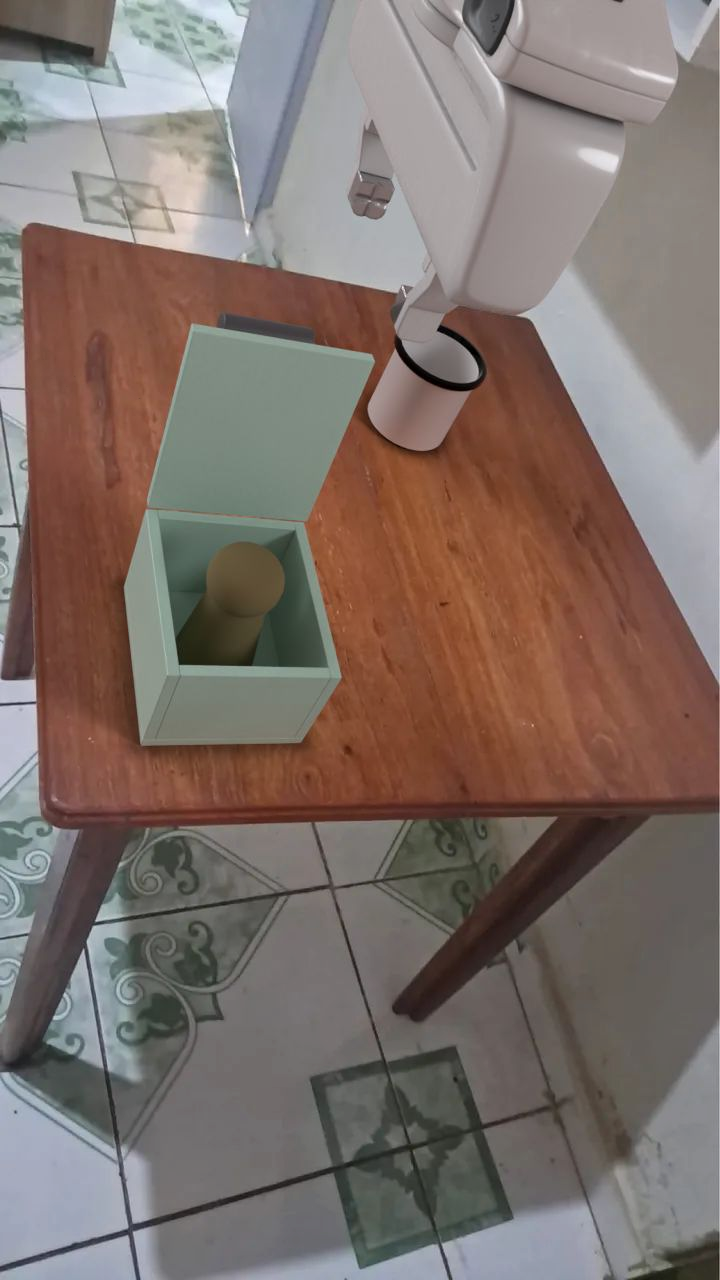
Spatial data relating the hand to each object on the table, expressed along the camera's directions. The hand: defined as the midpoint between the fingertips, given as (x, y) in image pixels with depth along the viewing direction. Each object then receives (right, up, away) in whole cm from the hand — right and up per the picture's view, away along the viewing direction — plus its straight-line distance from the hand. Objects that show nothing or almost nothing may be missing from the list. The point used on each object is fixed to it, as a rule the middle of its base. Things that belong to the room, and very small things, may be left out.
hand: (383, 267), depth 45 cm
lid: (-8, -5, +17) cm, 19 cm away
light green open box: (-12, -19, +25) cm, 34 cm away
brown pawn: (-12, -19, +25) cm, 34 cm away
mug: (+4, +4, +52) cm, 52 cm away
